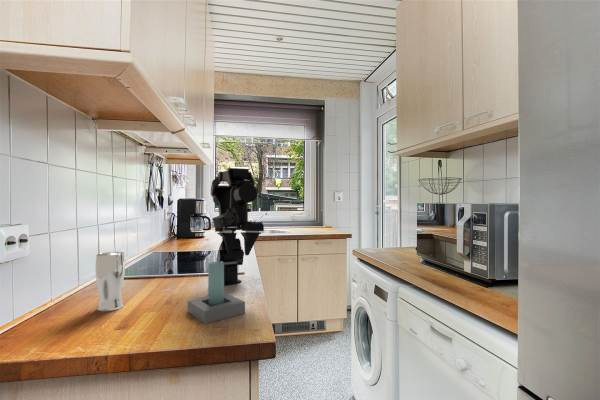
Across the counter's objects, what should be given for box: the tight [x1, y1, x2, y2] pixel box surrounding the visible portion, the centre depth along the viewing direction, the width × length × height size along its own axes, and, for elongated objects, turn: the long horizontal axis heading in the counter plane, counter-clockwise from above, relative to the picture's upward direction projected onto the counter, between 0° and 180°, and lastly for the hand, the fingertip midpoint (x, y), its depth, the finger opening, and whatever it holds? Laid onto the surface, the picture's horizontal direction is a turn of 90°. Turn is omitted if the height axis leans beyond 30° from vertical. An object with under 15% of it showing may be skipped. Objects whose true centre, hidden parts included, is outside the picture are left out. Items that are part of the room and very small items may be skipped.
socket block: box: [187, 292, 246, 325], centre depth 84 cm, size 11×11×3 cm
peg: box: [207, 261, 225, 306], centre depth 84 cm, size 4×4×13 cm
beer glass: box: [95, 251, 126, 313], centre depth 88 cm, size 7×7×15 cm
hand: (238, 254), depth 101 cm, fingers open, 9 cm apart
